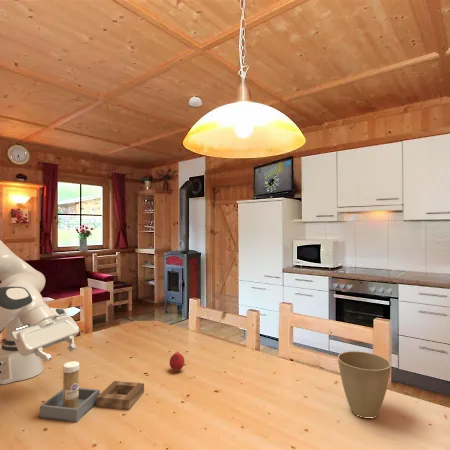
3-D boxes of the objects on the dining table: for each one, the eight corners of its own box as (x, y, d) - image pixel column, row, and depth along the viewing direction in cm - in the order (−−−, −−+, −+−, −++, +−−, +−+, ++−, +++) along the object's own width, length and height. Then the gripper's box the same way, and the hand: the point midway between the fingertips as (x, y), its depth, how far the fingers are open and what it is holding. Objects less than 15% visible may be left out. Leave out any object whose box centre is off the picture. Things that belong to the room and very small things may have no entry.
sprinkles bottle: (70, 413, 97) (70, 367, 97) (59, 409, 99) (59, 365, 99) (82, 405, 101) (82, 362, 101) (71, 402, 103) (71, 359, 103)
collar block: (96, 406, 101) (96, 397, 101) (114, 389, 112) (114, 380, 112) (129, 410, 99) (129, 400, 100) (144, 392, 110) (144, 383, 110)
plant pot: (399, 413, 98) (398, 360, 99) (377, 433, 88) (377, 375, 89) (352, 394, 109) (352, 347, 110) (328, 410, 100) (328, 358, 100)
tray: (39, 418, 95) (39, 406, 95) (66, 397, 107) (66, 386, 107) (76, 422, 93) (76, 410, 93) (99, 400, 105) (99, 389, 105)
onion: (181, 375, 123) (181, 354, 123) (167, 374, 124) (167, 353, 124) (186, 369, 129) (186, 348, 129) (172, 367, 130) (172, 347, 130)
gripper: (13, 323, 96) (37, 361, 93) (69, 307, 115) (90, 338, 112) (3, 336, 98) (26, 374, 94) (60, 319, 117) (80, 350, 113)
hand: (61, 355), depth 103 cm, fingers open, 8 cm apart
